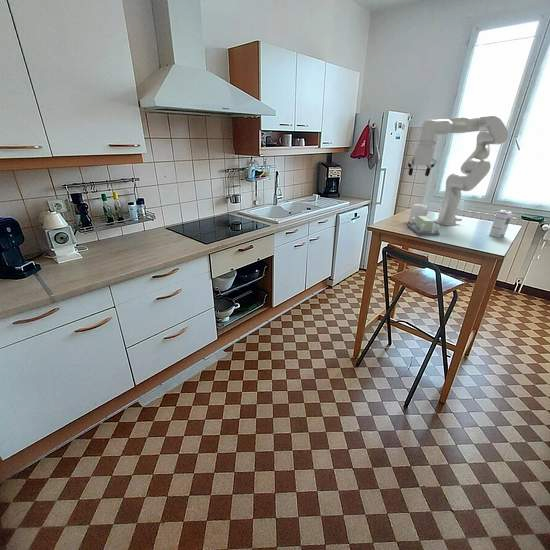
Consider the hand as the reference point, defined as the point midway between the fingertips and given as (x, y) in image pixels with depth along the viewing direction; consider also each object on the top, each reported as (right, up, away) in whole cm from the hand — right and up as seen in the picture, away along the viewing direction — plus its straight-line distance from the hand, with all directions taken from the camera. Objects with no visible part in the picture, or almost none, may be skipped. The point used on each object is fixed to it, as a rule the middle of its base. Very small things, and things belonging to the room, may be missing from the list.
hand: (418, 175), depth 175 cm
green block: (+4, -31, +2) cm, 32 cm away
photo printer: (+7, -26, +18) cm, 32 cm away
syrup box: (+45, -36, -2) cm, 58 cm away
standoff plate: (+4, -33, +2) cm, 33 cm away
